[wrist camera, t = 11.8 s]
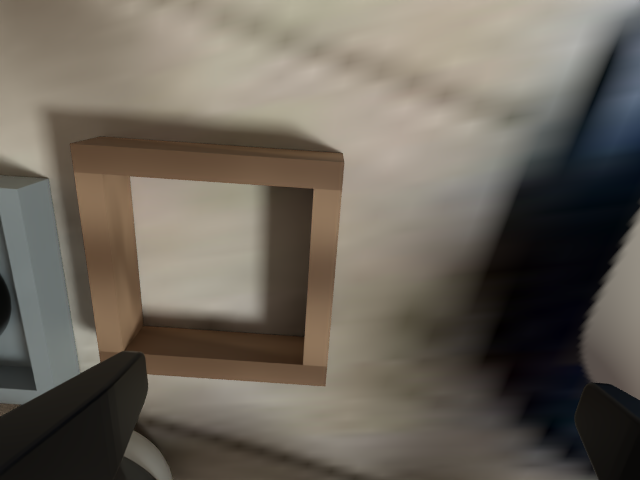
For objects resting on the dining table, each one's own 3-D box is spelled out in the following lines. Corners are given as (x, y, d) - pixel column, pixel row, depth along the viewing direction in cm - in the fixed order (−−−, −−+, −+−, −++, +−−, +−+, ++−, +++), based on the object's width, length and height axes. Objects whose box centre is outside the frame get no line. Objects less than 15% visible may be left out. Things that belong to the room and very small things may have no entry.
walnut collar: (325, 356, 24) (325, 386, 22) (124, 342, 24) (101, 371, 21) (342, 153, 20) (344, 162, 18) (100, 136, 20) (69, 143, 18)
